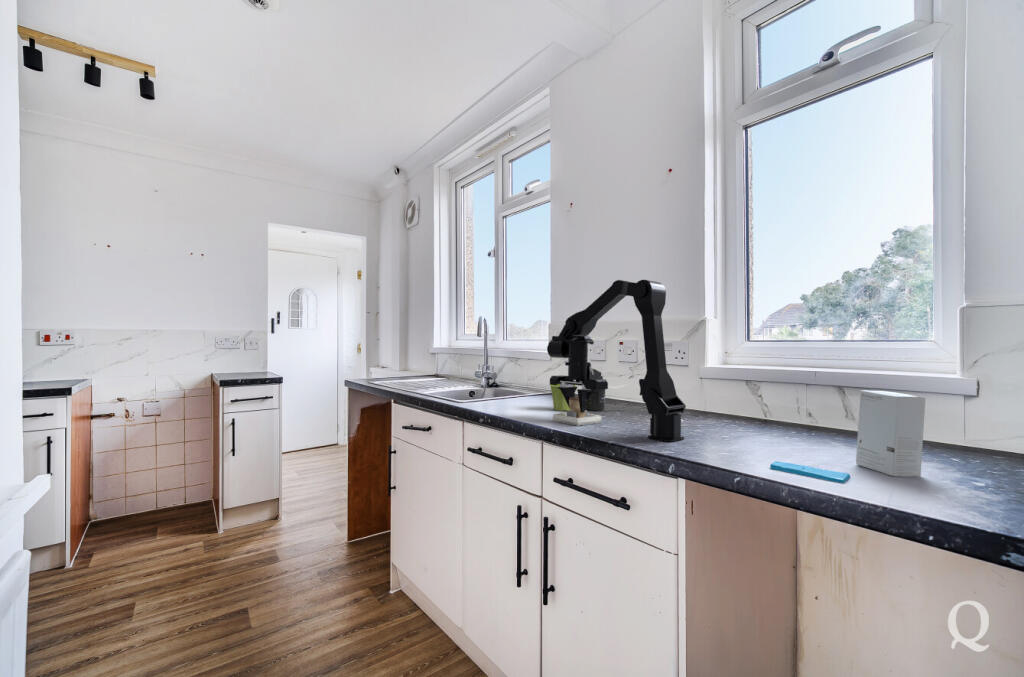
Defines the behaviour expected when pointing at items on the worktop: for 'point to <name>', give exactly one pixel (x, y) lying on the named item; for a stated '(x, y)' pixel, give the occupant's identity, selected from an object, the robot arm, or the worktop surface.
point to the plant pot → (559, 399)
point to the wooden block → (575, 407)
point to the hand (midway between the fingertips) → (577, 411)
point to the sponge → (810, 471)
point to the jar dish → (571, 418)
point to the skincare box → (890, 432)
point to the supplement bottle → (597, 400)
